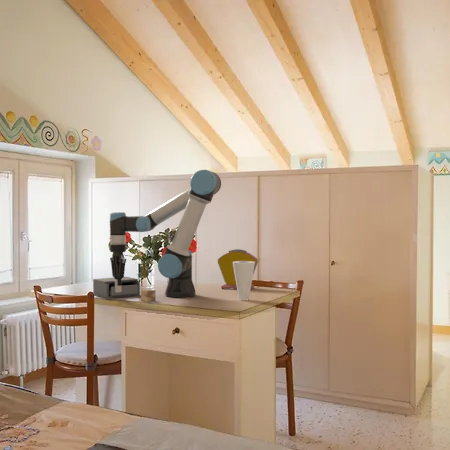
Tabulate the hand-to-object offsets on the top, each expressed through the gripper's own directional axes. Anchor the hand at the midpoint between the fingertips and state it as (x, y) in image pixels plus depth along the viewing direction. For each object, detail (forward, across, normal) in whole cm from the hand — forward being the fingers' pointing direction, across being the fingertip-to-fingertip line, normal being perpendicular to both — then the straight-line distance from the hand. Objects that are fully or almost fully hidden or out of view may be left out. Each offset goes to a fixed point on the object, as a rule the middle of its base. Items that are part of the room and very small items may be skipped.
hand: (118, 292), depth 268 cm
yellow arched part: (+3, +9, +68) cm, 68 cm away
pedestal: (+3, +16, +8) cm, 18 cm away
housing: (+3, -10, +4) cm, 12 cm away
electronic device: (+3, -40, +57) cm, 70 cm away
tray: (+2, -8, +4) cm, 9 cm away
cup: (+3, +43, +44) cm, 62 cm away
